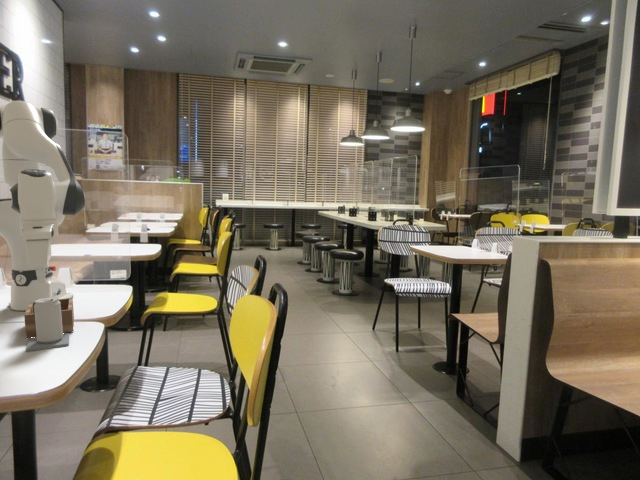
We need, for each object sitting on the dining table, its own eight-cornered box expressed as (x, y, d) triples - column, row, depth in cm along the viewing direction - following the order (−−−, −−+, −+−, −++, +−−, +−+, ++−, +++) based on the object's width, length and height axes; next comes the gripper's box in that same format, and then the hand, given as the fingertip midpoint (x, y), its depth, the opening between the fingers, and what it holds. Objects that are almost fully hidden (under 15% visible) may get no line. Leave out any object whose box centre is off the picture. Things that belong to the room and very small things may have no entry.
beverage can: (47, 345, 121) (44, 303, 120) (31, 342, 123) (28, 301, 122) (68, 338, 127) (65, 297, 125) (52, 335, 129) (49, 295, 128)
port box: (31, 323, 142) (29, 302, 141) (74, 317, 148) (72, 297, 147) (26, 338, 128) (24, 315, 127) (73, 332, 134) (71, 309, 133)
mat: (29, 340, 127) (29, 338, 127) (69, 334, 132) (69, 332, 132) (25, 351, 118) (25, 349, 118) (68, 345, 123) (68, 343, 123)
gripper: (29, 225, 128) (33, 272, 130) (21, 234, 110) (25, 287, 112) (54, 225, 131) (57, 270, 133) (50, 233, 113) (54, 285, 115)
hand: (42, 278), depth 123 cm, fingers open, 8 cm apart
